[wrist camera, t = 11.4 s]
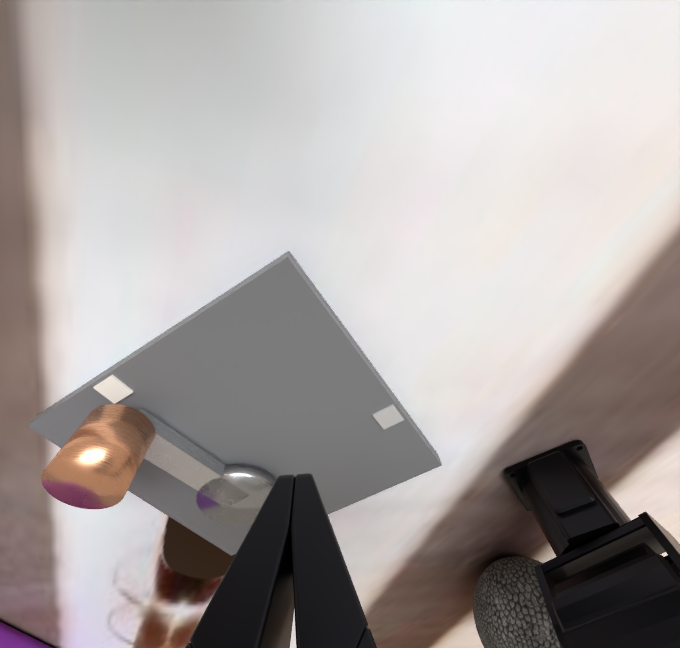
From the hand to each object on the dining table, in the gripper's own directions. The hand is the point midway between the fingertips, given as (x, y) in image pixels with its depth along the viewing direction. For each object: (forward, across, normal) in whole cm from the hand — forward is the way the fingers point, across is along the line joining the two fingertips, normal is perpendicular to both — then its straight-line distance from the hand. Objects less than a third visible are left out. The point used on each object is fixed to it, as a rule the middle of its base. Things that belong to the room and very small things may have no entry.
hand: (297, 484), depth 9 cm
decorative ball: (+13, -18, +33) cm, 40 cm away
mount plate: (+13, +5, +12) cm, 19 cm away
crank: (+12, +9, +13) cm, 20 cm away
